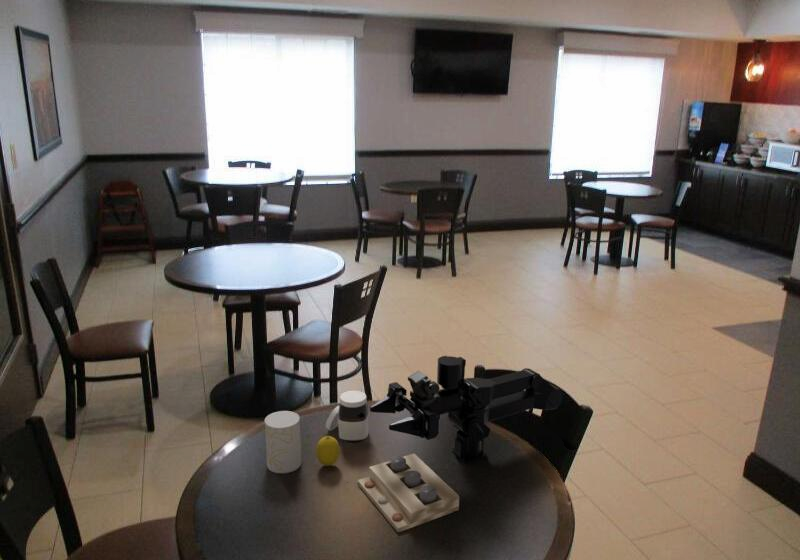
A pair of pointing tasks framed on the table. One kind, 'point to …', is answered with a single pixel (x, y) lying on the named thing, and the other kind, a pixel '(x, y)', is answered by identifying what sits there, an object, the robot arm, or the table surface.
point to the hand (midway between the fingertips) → (379, 418)
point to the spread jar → (350, 417)
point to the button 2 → (428, 495)
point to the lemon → (328, 450)
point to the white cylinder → (283, 441)
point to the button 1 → (398, 464)
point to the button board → (407, 494)
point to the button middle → (412, 479)
